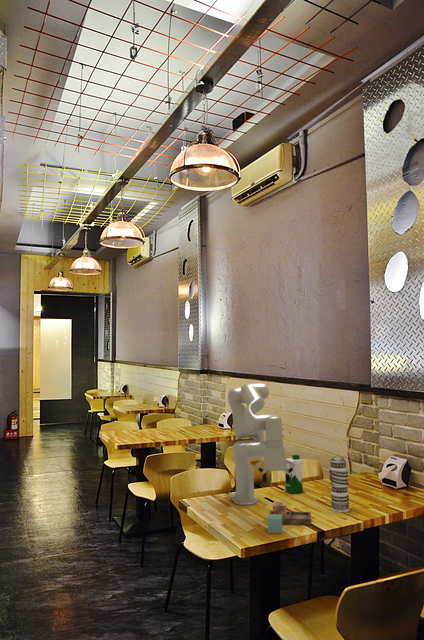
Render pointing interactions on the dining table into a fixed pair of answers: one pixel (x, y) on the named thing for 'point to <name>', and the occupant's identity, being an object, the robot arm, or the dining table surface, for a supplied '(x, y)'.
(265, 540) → the dining table surface
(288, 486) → the milk carton
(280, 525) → the teal cube
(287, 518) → the walnut tray
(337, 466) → the decorative candle
